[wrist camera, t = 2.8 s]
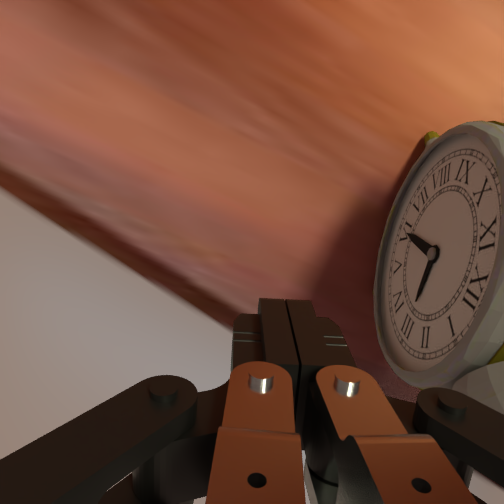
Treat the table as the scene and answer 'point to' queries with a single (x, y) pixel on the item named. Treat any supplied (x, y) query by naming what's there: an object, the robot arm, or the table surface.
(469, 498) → the robot arm
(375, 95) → the table surface
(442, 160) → the alarm clock
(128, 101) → the table surface
